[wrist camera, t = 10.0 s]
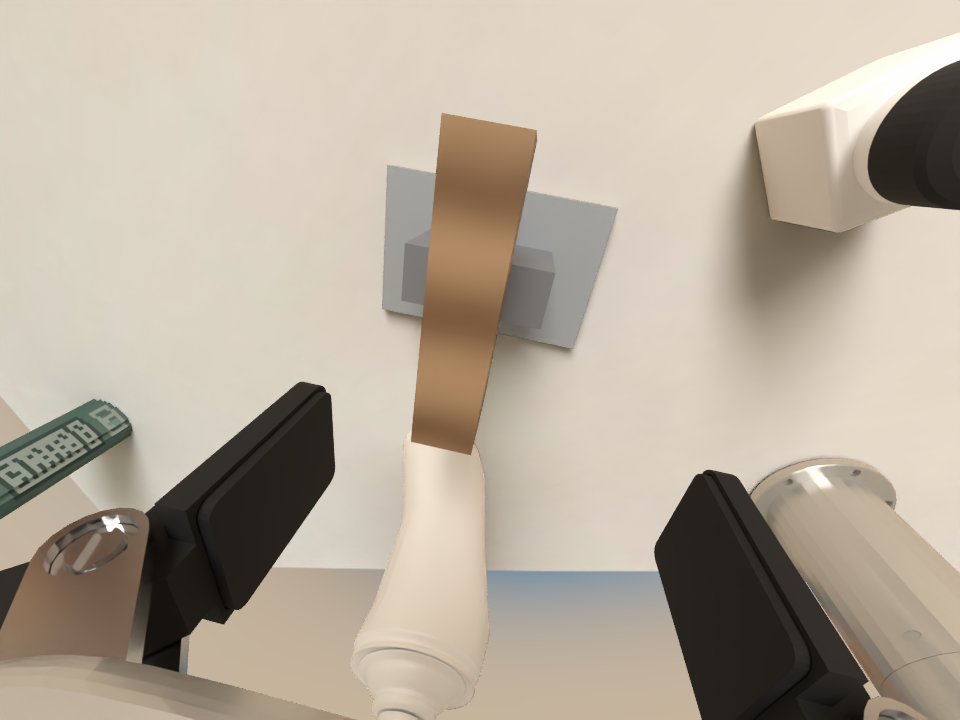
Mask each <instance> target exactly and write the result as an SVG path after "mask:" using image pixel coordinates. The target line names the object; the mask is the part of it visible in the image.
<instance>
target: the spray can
mask: <svg viewBox="0 0 960 720" xmlns="http://www.w3.org/2000/svg"><path fill="white" fill-rule="evenodd" d="M411 435H412V431H411V432H410V433H409V434H408V435H407V436H406V438H405V440H404V444H403V451H404V455H403V521H402V524H401V527H400V529H399V532H398V535H397V538H396V541H395V544H394V547H393V549H392V552H391V555H390V558H389V561H388V564H387V567H386V569H385V572H384V575H383V578H382V581H381V584H380V587H379V589H378V592H377V596H376V598H375V601H374V604H373V606H372V608H371V610H370V612H369V614H368V616H367V618H366V620H365V622H364V624H363V625H362V627H361V629H360V631H359V633H358V635H357V637H356V639H355V641H354V645H353V651H354V654H353V655H352V657H351V660H350V667H351V670H352V672H353V674H354V675H355V677H356V678H357V679H358V680H359V681H360V682H361V683H362V684H364V685H365V686H366V687H367V688H368V690H369V693H370V695H371V696H372V698H373V700H374V702H373V704H372V714H373V716H374V717H375V719H376V720H436V716H437V715H439V714H440V713H442V712H443V711H444V710H450V709H456V708H460V707H463V706H464V705H467V704H468V703H469V702H470V701H471V700H472V698H473V696H474V693H475V685H476V684H477V682H478V680H479V676H480V672H481V668H482V664H483V660H484V656H485V652H486V648H487V644H488V640H489V616H488V595H487V576H486V555H485V476H484V472H483V469H482V465H481V461H480V456H479V452H478V450H477V448H476V446H475V444H474V445H473V449H472V453H471V455H467V454H463V453H458V452H454V451H449V450H445V449H440V448H436V447H432V446H427V445H423V444H418V443H414V442H411Z"/></svg>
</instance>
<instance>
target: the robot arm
mask: <svg viewBox="0 0 960 720" xmlns="http://www.w3.org/2000/svg"><path fill="white" fill-rule="evenodd" d="M334 473H335V458H334V439H333V421H332V403H331V395H330V394H329V393H326V390H325V388H324V387H323V386H320V385H315V384H311V383H306V382H299V383H297V384H296V385H295V386H294V387H292V388H291V389H290V390H289V391H288V392H287V393H285V394H284V395H283V396H282V397H281V398H279V399H278V400H277V401H276V402H275V403H273V404H272V405H271V406H270V407H269V408H268V409H266V410H265V411H264V412H263V413H262V414H260V415H259V416H258V417H257V418H256V419H255V420H253V421H252V422H251V423H250V424H249V425H247V426H246V427H245V428H244V429H243V430H241V431H240V432H239V433H238V434H237V435H236V436H234V437H233V438H232V439H231V440H230V441H228V442H227V443H226V444H225V445H224V446H222V447H221V448H220V449H219V450H218V451H217V452H215V453H214V454H213V455H212V456H211V457H209V458H208V459H207V460H206V461H205V462H203V463H202V464H201V465H200V466H199V467H198V468H196V469H195V470H194V471H193V472H192V473H190V474H189V475H188V476H187V477H186V478H185V479H183V480H182V481H181V482H180V483H179V484H177V485H176V486H175V487H174V488H173V489H171V490H170V491H169V492H168V493H167V494H166V495H164V496H163V497H162V498H161V499H160V500H158V501H157V502H156V503H155V506H154V507H152V508H151V509H150V510H149V511H148V512H147V513H145V514H144V513H143V512H142V511H139V510H136V509H133V508H116V509H110V510H104V511H100V512H98V513H94V514H91V515H88V516H85V517H83V518H81V519H79V520H77V521H75V522H73V523H71V524H69V525H67V526H66V527H64V528H63V529H61V530H60V531H58V532H57V533H55V534H54V535H52V536H51V537H50V538H49V539H48V540H47V541H46V542H45V543H44V544H43V545H42V546H41V547H39V549H38V550H37V552H36V553H35V555H34V556H33V558H32V559H31V561H30V562H27V563H24V564H21V565H18V566H15V567H12V568H8V569H5V570H2V571H0V720H355V719H351V718H348V717H344V716H341V715H337V714H333V713H330V712H326V711H323V710H319V709H315V708H311V707H308V706H304V705H301V704H297V703H293V702H290V701H286V700H282V699H279V698H275V697H271V696H268V695H264V694H261V693H257V692H254V691H250V690H246V689H243V688H239V687H235V686H231V685H227V684H223V683H218V682H215V681H211V680H207V679H203V678H199V677H195V676H191V675H187V668H188V651H189V635H190V634H191V632H192V631H193V630H194V629H195V627H196V626H197V625H198V623H199V622H200V621H201V620H202V619H206V620H209V621H213V622H216V623H220V624H225V622H226V621H227V620H228V618H229V617H230V615H231V614H232V612H233V611H234V610H239V609H241V608H242V607H243V606H244V605H245V604H246V603H247V602H248V601H249V599H250V598H251V596H252V595H253V593H254V592H255V590H256V589H257V588H258V586H259V585H260V583H261V582H262V580H263V579H264V578H265V576H266V575H267V573H268V572H269V570H270V569H271V568H272V566H273V565H274V563H275V562H276V560H277V559H278V557H279V556H280V555H281V553H282V552H283V550H284V549H285V547H286V546H287V544H288V543H289V542H290V540H291V539H292V537H293V536H294V534H295V533H296V532H297V530H298V529H299V527H300V526H301V524H302V523H303V521H304V520H305V519H306V517H307V516H308V514H309V513H310V511H311V510H312V508H313V507H314V506H315V504H316V503H317V501H318V500H319V498H320V497H321V496H322V494H323V493H324V491H325V490H326V488H327V487H328V485H329V484H330V482H331V481H332V479H333V476H334ZM896 500H897V499H896V491H895V489H894V487H893V485H892V484H891V483H890V482H889V481H888V480H887V479H886V478H885V477H884V476H883V475H882V474H881V473H880V472H878V471H877V470H876V469H874V468H873V467H871V466H869V465H867V464H864V463H862V462H858V461H854V460H849V459H840V458H826V459H816V460H809V461H805V462H801V463H797V464H794V465H791V466H789V467H786V468H784V469H781V470H779V471H778V472H776V473H774V474H772V475H771V476H769V477H768V478H767V479H765V480H764V481H763V482H761V483H760V484H759V485H758V487H757V488H756V489H755V490H754V491H753V493H752V494H751V496H749V494H748V493H747V491H746V490H745V488H744V486H743V485H742V483H741V482H740V480H739V479H738V478H737V477H736V476H734V475H732V474H727V473H722V472H718V471H713V470H706V471H704V472H703V473H702V474H697V475H696V476H695V477H694V479H693V480H692V482H691V484H690V486H689V487H688V489H687V491H686V493H685V494H684V496H683V498H682V499H681V501H680V503H679V505H678V506H677V508H676V510H675V511H674V513H673V515H672V517H671V518H670V520H669V522H668V523H667V525H666V527H665V529H664V530H663V532H662V534H661V535H660V537H659V539H658V541H657V542H656V545H655V551H654V554H655V560H656V564H657V567H658V571H659V574H660V577H661V580H662V584H663V587H664V591H665V595H666V598H667V601H668V605H669V608H670V612H671V615H672V619H673V622H674V625H675V628H676V632H677V636H678V639H679V642H680V646H681V649H682V653H683V656H684V660H685V663H686V666H687V670H688V673H689V677H690V680H691V684H692V687H693V691H694V694H695V698H696V701H697V704H698V708H699V711H700V715H701V718H702V720H960V573H959V572H958V571H957V570H956V569H955V568H954V567H953V566H952V565H951V564H949V563H948V562H947V561H946V560H945V559H944V558H943V557H942V556H941V555H940V554H939V553H938V552H937V551H936V550H935V549H934V548H933V547H932V546H931V545H930V544H929V543H927V542H926V541H925V540H924V539H923V538H922V537H921V536H920V535H919V534H918V533H917V532H916V531H915V530H914V529H913V528H912V527H911V526H910V525H909V524H908V523H907V522H905V521H904V520H903V519H902V518H901V517H900V516H899V515H898V514H897V513H896V512H895V511H894V509H895V505H896ZM805 582H807V584H808V585H809V587H810V588H811V590H812V591H813V593H814V594H815V596H816V597H817V599H818V601H819V602H820V603H821V605H822V607H823V608H824V609H825V611H826V613H827V614H828V616H829V617H830V619H831V620H832V622H833V623H834V625H835V627H836V628H837V630H838V631H839V633H840V634H841V635H842V637H843V639H844V640H845V642H846V643H847V645H848V646H849V648H850V650H851V651H852V653H853V654H854V656H855V657H856V659H857V660H858V662H859V663H860V665H861V666H862V668H863V669H864V671H865V673H866V674H867V675H868V677H869V678H870V680H871V682H872V683H873V685H874V686H875V688H876V689H877V691H878V692H879V694H880V695H881V697H879V696H877V697H875V698H872V699H871V698H870V697H869V695H868V693H867V692H866V690H865V688H864V687H863V685H864V684H865V683H867V682H868V679H867V678H866V676H865V674H864V673H863V671H862V670H861V669H860V667H859V665H858V664H857V662H856V660H855V659H854V658H853V656H852V654H851V653H850V651H849V650H848V648H847V647H846V645H845V643H844V642H843V640H842V639H841V637H840V636H839V634H838V632H837V631H836V630H835V628H834V626H833V625H832V623H831V622H830V620H829V618H828V617H827V615H826V614H825V612H824V611H823V609H822V608H821V606H820V605H819V603H818V601H817V600H816V598H815V597H814V595H813V594H812V592H811V591H810V589H809V587H808V586H807V585H806V583H805Z"/></svg>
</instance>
